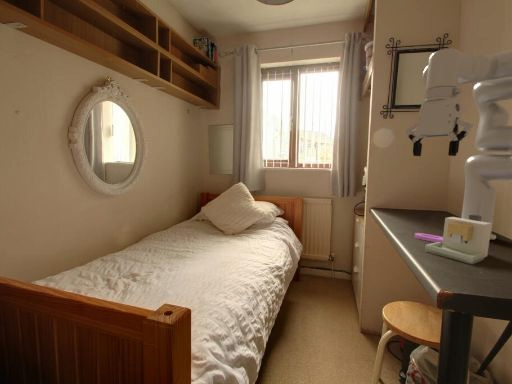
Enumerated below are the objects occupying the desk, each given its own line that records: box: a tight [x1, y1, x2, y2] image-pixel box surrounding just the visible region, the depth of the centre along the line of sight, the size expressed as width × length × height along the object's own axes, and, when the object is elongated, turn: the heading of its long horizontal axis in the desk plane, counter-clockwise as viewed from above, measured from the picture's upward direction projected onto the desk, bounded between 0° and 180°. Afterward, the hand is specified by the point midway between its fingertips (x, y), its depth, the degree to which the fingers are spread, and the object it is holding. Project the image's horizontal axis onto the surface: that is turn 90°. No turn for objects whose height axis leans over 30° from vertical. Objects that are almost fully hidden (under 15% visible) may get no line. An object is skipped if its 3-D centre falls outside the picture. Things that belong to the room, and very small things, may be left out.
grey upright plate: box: [451, 215, 482, 244], centre depth 82 cm, size 13×2×7 cm, turn 121°
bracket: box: [414, 232, 443, 245], centre depth 95 cm, size 13×6×7 cm, turn 45°
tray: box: [424, 242, 486, 265], centre depth 79 cm, size 8×12×2 cm, turn 31°
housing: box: [441, 216, 493, 258], centre depth 82 cm, size 5×10×10 cm, turn 31°
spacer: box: [447, 222, 473, 241], centre depth 79 cm, size 3×5×4 cm
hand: (433, 155), depth 79 cm, fingers open, 9 cm apart
